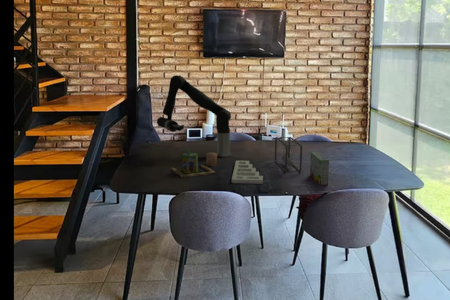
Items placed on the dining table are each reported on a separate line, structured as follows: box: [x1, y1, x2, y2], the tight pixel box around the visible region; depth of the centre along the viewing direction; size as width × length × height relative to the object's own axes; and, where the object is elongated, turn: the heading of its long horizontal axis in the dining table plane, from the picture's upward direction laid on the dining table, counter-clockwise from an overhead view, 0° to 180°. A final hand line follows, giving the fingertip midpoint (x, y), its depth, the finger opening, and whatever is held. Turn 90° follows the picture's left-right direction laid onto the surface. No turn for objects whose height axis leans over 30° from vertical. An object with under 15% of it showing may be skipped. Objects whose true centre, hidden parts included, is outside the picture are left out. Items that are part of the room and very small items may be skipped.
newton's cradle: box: [274, 136, 303, 173], centre depth 292 cm, size 30×10×18 cm, turn 7°
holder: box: [231, 160, 264, 185], centre depth 279 cm, size 45×18×3 cm, turn 175°
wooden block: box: [205, 152, 218, 168], centre depth 296 cm, size 7×7×8 cm
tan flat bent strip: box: [171, 164, 217, 179], centre depth 281 cm, size 22×20×1 cm
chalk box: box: [181, 148, 199, 175], centre depth 279 cm, size 9×9×15 cm
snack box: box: [309, 151, 330, 186], centre depth 263 cm, size 21×6×15 cm, turn 5°
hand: (179, 129), depth 298 cm, fingers closed
